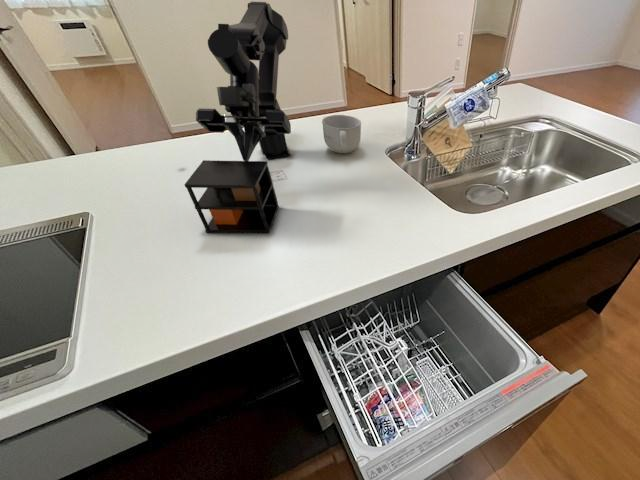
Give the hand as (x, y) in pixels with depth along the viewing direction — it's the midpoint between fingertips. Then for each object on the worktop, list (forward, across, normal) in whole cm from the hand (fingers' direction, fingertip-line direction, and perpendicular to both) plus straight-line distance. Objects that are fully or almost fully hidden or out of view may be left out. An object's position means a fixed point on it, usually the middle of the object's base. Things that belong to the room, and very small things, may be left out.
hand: (245, 160), depth 77 cm
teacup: (-12, +19, +24) cm, 32 cm away
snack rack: (+13, 0, -1) cm, 13 cm away
